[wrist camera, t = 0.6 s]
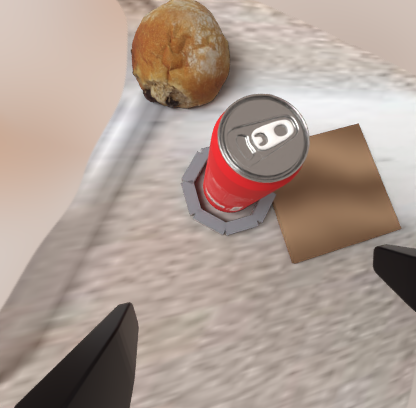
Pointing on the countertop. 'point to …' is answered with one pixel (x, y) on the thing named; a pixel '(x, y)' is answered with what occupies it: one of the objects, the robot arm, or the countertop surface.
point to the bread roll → (180, 55)
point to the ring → (207, 218)
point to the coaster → (334, 197)
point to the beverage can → (254, 151)
